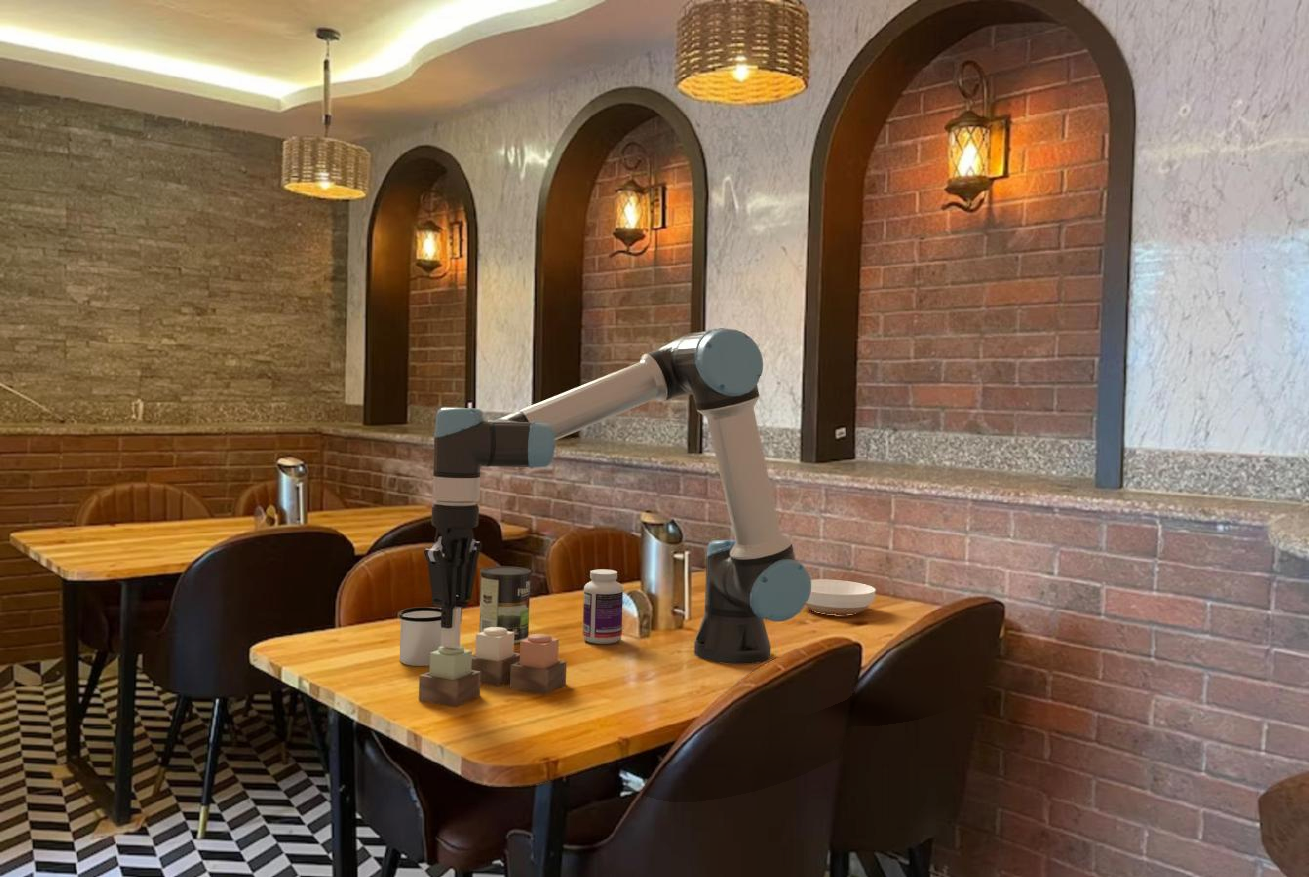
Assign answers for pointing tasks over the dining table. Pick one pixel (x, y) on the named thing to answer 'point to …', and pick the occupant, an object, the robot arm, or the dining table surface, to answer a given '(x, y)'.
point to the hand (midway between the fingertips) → (450, 646)
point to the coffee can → (505, 600)
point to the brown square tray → (449, 689)
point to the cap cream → (494, 644)
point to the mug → (419, 634)
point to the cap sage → (450, 663)
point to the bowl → (839, 596)
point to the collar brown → (538, 677)
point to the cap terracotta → (539, 651)
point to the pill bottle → (602, 608)
